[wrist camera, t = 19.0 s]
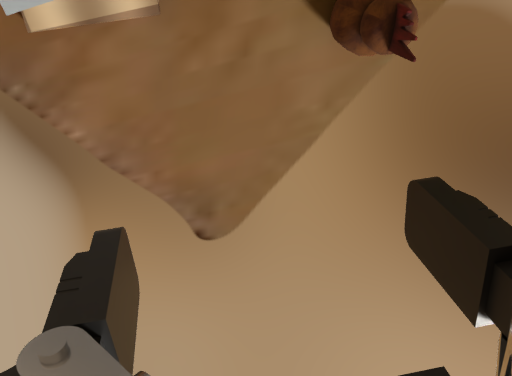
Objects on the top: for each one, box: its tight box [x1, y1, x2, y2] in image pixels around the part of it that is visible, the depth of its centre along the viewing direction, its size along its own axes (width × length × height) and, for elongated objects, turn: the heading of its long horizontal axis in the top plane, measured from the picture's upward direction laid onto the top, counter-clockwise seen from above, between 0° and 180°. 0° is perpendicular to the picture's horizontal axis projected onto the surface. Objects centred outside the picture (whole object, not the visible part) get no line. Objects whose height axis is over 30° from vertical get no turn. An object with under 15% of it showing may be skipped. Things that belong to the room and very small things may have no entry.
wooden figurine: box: [330, 0, 418, 62], centre depth 42 cm, size 7×6×15 cm
